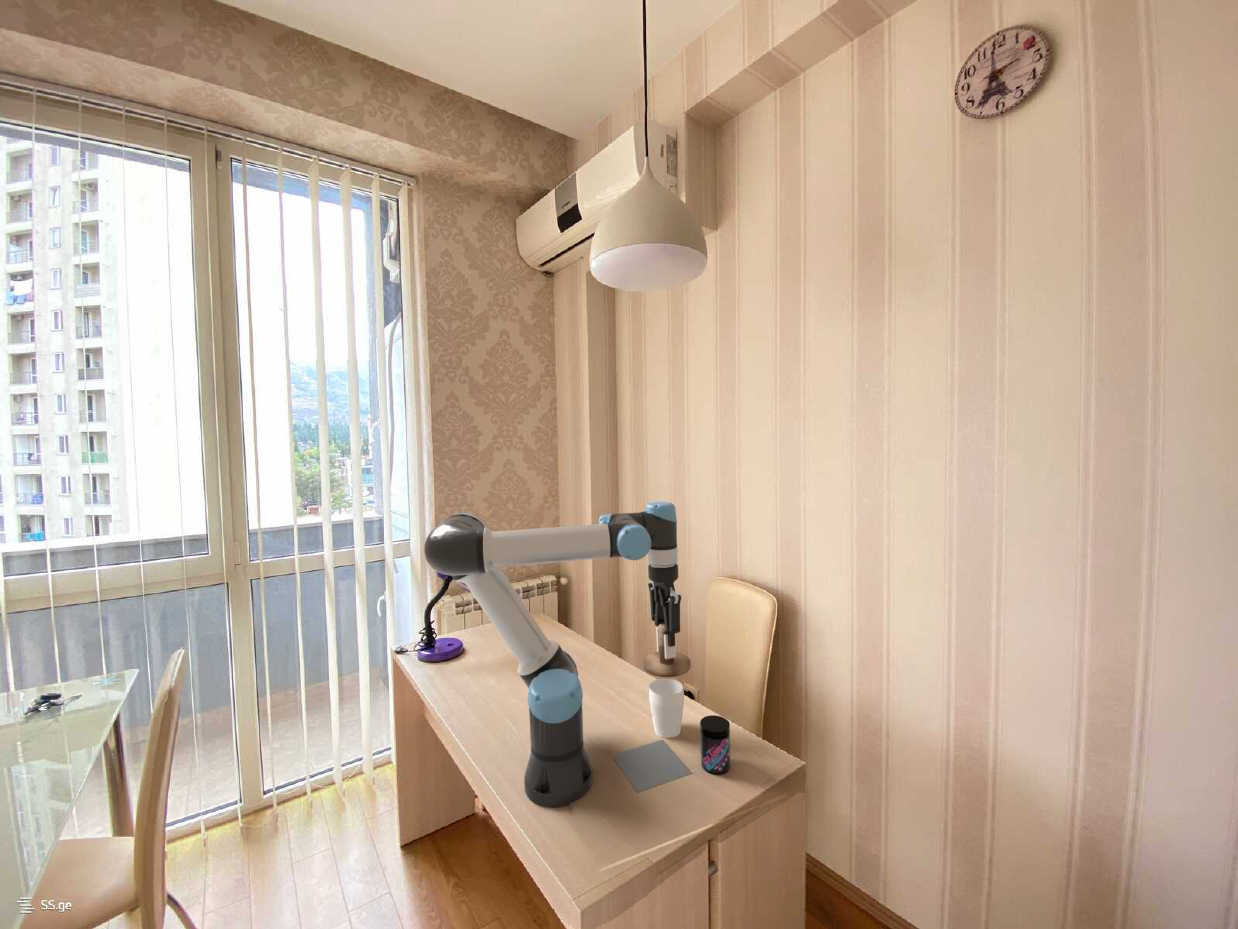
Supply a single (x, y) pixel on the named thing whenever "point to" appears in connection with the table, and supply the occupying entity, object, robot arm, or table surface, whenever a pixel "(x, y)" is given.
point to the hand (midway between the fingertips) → (666, 654)
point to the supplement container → (715, 744)
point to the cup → (666, 706)
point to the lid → (665, 661)
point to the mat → (651, 765)
